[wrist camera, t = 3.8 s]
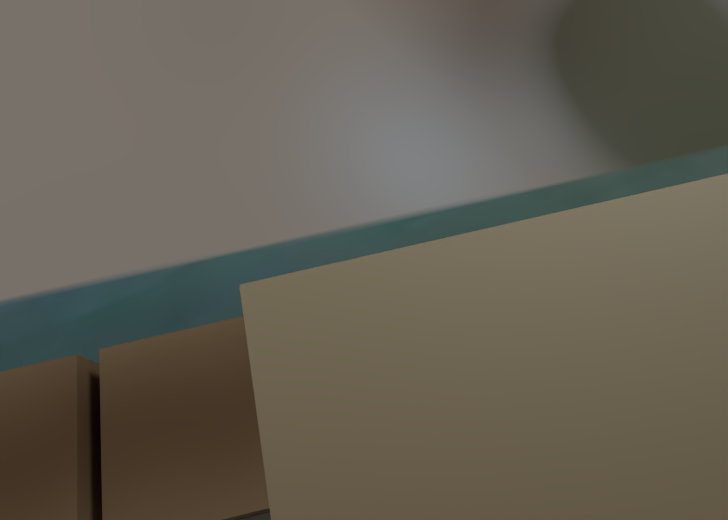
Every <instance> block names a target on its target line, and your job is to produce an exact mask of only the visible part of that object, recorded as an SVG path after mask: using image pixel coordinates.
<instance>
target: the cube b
mask: <svg viewBox="0 0 728 520" xmlns="http://www.w3.org/2000/svg"><path fill="white" fill-rule="evenodd" d="M99 366H100V420H101V474H102V520H240V519H244V518H249V517H253V516H257V515H261V514H265V513H269V512H270V508H269V500H268V493H267V485H266V478H265V471H264V463H263V456H262V448H261V441H260V434H259V426H258V419H257V412H256V404H255V397H254V389H253V382H252V375H251V367H250V360H249V352H248V345H247V338H246V330H245V323H244V316H242V317H238V318H233V319H229V320H225V321H220V322H216V323H212V324H207V325H203V326H198V327H194V328H190V329H185V330H181V331H177V332H172V333H168V334H164V335H159V336H155V337H150V338H146V339H142V340H137V341H133V342H129V343H124V344H120V345H116V346H111V347H107V348H103V349H99Z"/></svg>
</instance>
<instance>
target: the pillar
mask: <svg viewBox="0 0 728 520" xmlns="http://www.w3.org/2000/svg"><path fill="white" fill-rule="evenodd" d="M239 286H240V293H241V301H242V308H243V316H244V323H245V330H246V338H247V345H248V352H249V360H250V367H251V375H252V382H253V389H254V397H255V404H256V412H257V419H258V426H259V434H260V441H261V448H262V456H263V463H264V471H265V478H266V485H267V493H268V500H269V508H270V515H271V520H728V174H724V175H720V176H716V177H711V178H707V179H702V180H698V181H694V182H689V183H685V184H681V185H676V186H672V187H667V188H663V189H659V190H654V191H650V192H645V193H641V194H637V195H632V196H628V197H623V198H619V199H615V200H610V201H606V202H601V203H597V204H593V205H588V206H584V207H579V208H575V209H571V210H566V211H562V212H557V213H553V214H549V215H544V216H540V217H535V218H531V219H527V220H522V221H518V222H513V223H509V224H505V225H500V226H496V227H491V228H487V229H483V230H478V231H474V232H469V233H465V234H461V235H456V236H452V237H447V238H443V239H439V240H434V241H430V242H425V243H421V244H417V245H412V246H408V247H403V248H399V249H395V250H390V251H386V252H381V253H377V254H373V255H368V256H364V257H359V258H355V259H351V260H346V261H342V262H337V263H333V264H329V265H324V266H320V267H315V268H311V269H307V270H302V271H298V272H293V273H289V274H285V275H280V276H276V277H271V278H267V279H263V280H258V281H254V282H249V283H245V284H241V285H239Z"/></svg>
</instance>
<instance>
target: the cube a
mask: <svg viewBox="0 0 728 520" xmlns="http://www.w3.org/2000/svg"><path fill="white" fill-rule="evenodd" d="M0 520H102V474H101V420H100V366H99V364H98V363H96V362H93V361H91V360H89V359H86V358H84V357H82V356H79V355H77V354H76V355H72V356H68V357H63V358H59V359H55V360H50V361H46V362H41V363H37V364H33V365H28V366H24V367H20V368H15V369H11V370H7V371H2V372H0Z"/></svg>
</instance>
